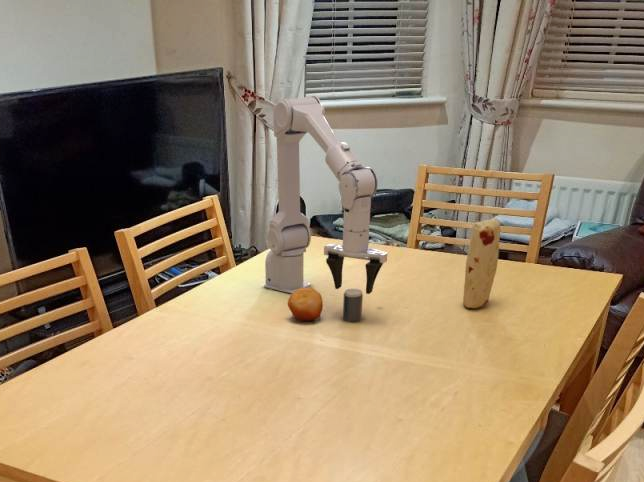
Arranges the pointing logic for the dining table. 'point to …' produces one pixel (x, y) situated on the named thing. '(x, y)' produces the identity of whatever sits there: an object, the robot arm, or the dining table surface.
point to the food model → (481, 262)
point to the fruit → (305, 304)
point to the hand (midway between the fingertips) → (353, 290)
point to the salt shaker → (352, 305)
